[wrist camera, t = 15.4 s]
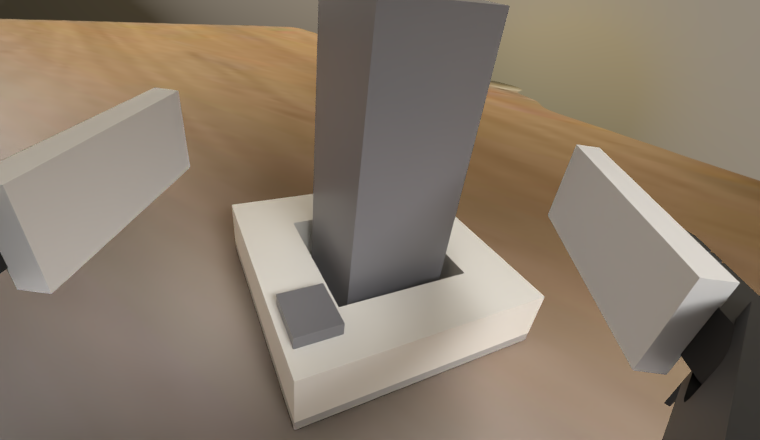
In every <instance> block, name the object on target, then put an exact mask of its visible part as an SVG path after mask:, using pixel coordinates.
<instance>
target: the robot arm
mask: <svg viewBox="0 0 760 440" xmlns="http://www.w3.org/2000/svg"><path fill="white" fill-rule="evenodd" d="M189 168H190V163H189V156H188V150H187V143H186V137H185V131H184V124H183V118H182V111H181V105H180V99H179V92H178V91H177V90H169V89H162V88H153V89H151V90H149V91H147V92H144V93H142V94H140V95H138V96H136V97H134V98H132V99H130V100H128V101H126V102H123V103H121V104H119V105H117V106H115V107H113V108H111V109H109V110H107V111H104V112H102V113H100V114H98V115H96V116H94V117H92V118H90V119H88V120H86V121H83V122H81V123H79V124H77V125H75V126H73V127H71V128H69V129H67V130H64V131H62V132H60V133H58V134H56V135H54V136H52V137H50V138H48V139H46V140H43V141H41V142H39V143H37V144H35V145H33V146H31V147H29V148H27V149H25V150H22V151H20V152H18V153H16V154H14V155H12V156H10V157H8V158H6V159H3V160H1V161H0V273H1V272H3V271H4V270H5V269H7V270H8V272H9V274H10V276H11V278H12V280H13V282H14V284H15V286H16V288H17V290H24V291H32V292H40V293H47V294H52V293H53V292H54V291H56V290H57V289H58V288H59V287H60V286H61V285H62V284H63V283H64V282H65V281H66V280H68V279H69V278H70V277H71V276H72V275H73V274H74V273H75V272H76V271H77V270H79V269H80V268H81V267H82V266H83V265H84V264H85V263H86V262H87V261H88V260H89V259H91V258H92V257H93V256H94V255H95V254H96V253H97V252H98V251H99V250H100V249H101V248H103V247H104V246H105V245H106V244H107V243H108V242H109V241H110V240H111V239H112V238H114V237H115V236H116V235H117V234H118V233H119V232H120V231H121V230H122V229H123V228H124V227H126V226H127V225H128V224H129V223H130V222H131V221H132V220H133V219H134V218H135V217H137V216H138V215H139V214H140V213H141V212H142V211H143V210H144V209H145V208H146V207H147V206H149V205H150V204H151V203H152V202H153V201H154V200H155V199H156V198H157V197H158V196H160V195H161V194H162V193H163V192H164V191H165V190H166V189H167V188H168V187H169V186H170V185H172V184H173V183H174V182H175V181H176V180H177V179H178V178H179V177H180V176H181V175H182V174H184V173H185V172H186V171H187V170H188V169H189ZM548 217H549V218H550V220H551V222H552V224H553V226H554V228H555V229H556V231H557V233H558V235H559V237H560V238H561V240H562V242H563V244H564V246H565V248H566V249H567V251H568V253H569V255H570V257H571V258H572V260H573V262H574V264H575V266H576V268H577V269H578V271H579V273H580V275H581V277H582V278H583V280H584V282H585V284H586V286H587V288H588V289H589V291H590V293H591V295H592V297H593V299H594V300H595V302H596V304H597V306H598V308H599V309H600V311H601V313H602V315H603V317H604V319H605V320H606V322H607V324H608V326H609V328H610V329H611V331H612V333H613V335H614V337H615V339H616V340H617V342H618V344H619V346H620V348H621V349H622V351H623V353H624V355H625V357H626V359H627V360H628V362H629V364H630V366H631V368H632V369H633V370H635V371H643V372H650V373H658V374H667V373H668V372H669V371H670V370H671V368H672V367H673V366H674V365H675V363H676V362H677V361H678V360H679V358H680V357H681V356H682V358H683V359H684V361H685V362H686V363H687V365H688V366H689V368H690V369H691V372H690V373H689V375H688V376H687V377H686V378H685V379H684V380H683V382H682V383H681V384H680V385H679V386H678V387H677V389H676V390H675V391H674V392H673V393H672V394H671V396H670V397H669V398H668V399H667V400H666V402H665V404H667V405H668V406H671V405H672V404H673V403H674V402H675V404H674V407H673V410H672V413H671V416H670V419H669V422H668V425H667V427H666V430H665V433H664V436H663V439H662V440H760V296H759V295H757V294H756V293H755V292H754V291H753V290H752V289H751V288H750V287H749V286H748V285H747V284H746V283H745V282H744V281H743V280H742V279H741V278H740V277H738V276H737V275H736V274H735V273H734V272H733V271H732V270H731V269H730V268H729V267H728V266H727V265H726V264H724V263H722V260H721V259H719V258H718V257H717V256H716V255H715V254H714V253H711V252H710V251H711V250H710V249H709V248H708V247H707V246H706V245H705V244H704V243H703V242H702V241H700V240H699V239H698V238H697V237H696V236H694V235H693V234H691V233H689V232H688V231H686V230H685V229H683V228H682V227H681V226H680V225H679V224H678V223H677V222H676V221H675V220H674V219H673V218H672V217H671V216H670V215H669V214H668V213H667V212H666V211H665V210H664V209H663V208H662V207H661V206H660V205H659V204H657V203H656V202H655V201H654V200H653V199H652V198H651V197H650V196H649V195H648V194H647V193H646V192H645V191H644V190H643V189H642V188H641V187H640V186H639V185H638V184H637V183H636V182H635V181H634V180H633V179H632V178H630V177H629V176H628V175H627V174H626V173H625V172H624V171H623V170H622V169H621V168H620V167H619V166H618V165H617V164H616V163H615V162H614V161H613V160H612V159H611V158H610V157H609V156H608V155H607V154H606V153H604V152H603V151H602V150H601V149H600V148H598V147H590V146H583V145H576V147H575V150H574V152H573V154H572V157H571V159H570V162H569V164H568V167H567V169H566V172H565V174H564V177H563V179H562V181H561V184H560V186H559V189H558V191H557V194H556V196H555V199H554V201H553V204H552V206H551V208H550V211H549V213H548Z"/></svg>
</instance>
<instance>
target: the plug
mask: <svg viewBox="0 0 760 440" xmlns="http://www.w3.org/2000/svg"><path fill="white" fill-rule="evenodd" d="M318 6H319V7H318V42H317V78H316V114H315V150H314V186H313V223H312V259H313V260H314V262H315V264H316V266H317V268H318V270H319V272H320V273H321V275H322V277H323V279H324V281H325V283H326V284H327V286H328V288H329V290H330V292H331V294H332V296H333V297H334V299H335V301H336V303H337V305H338V307H342V306H345V305H349V304H353V303H356V302H360V301H364V300H367V299H371V298H375V297H378V296H382V295H386V294H390V293H393V292H397V291H401V290H404V289H408V288H412V287H415V286H419V285H423V284H426V283H430V282H434V281H437V280H439V278H440V274H441V270H442V266H443V262H444V258H445V255H446V251H447V247H448V243H449V239H450V235H451V231H452V227H453V223H454V220H455V216H456V212H457V208H458V204H459V200H460V196H461V192H462V189H463V185H464V181H465V177H466V173H467V169H468V165H469V161H470V158H471V154H472V150H473V146H474V142H475V138H476V134H477V130H478V127H479V123H480V119H481V115H482V111H483V107H484V103H485V99H486V96H487V92H488V88H489V84H490V80H491V76H492V72H493V68H494V64H495V61H496V57H497V52H498V48H499V45H500V41H501V37H502V33H503V30H504V26H505V22H506V18H507V14H508V10H509V6H508V5H503V4H498V3H493V2H489V1H484V0H319V5H318Z"/></svg>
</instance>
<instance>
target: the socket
mask: <svg viewBox="0 0 760 440" xmlns="http://www.w3.org/2000/svg"><path fill="white" fill-rule="evenodd" d="M232 213H233V223H234V233H235V243H236V249H237V252H238V256H239V259H240V262H241V265H242V268H243V271H244V274H245V277H246V281H247V284H248V287H249V290H250V293H251V296H252V299H253V303H254V306H255V309H256V312H257V315H258V318H259V321H260V324H261V328H262V331H263V334H264V337H265V340H266V343H267V346H268V349H269V353H270V356H271V359H272V362H273V365H274V368H275V371H276V375H277V378H278V381H279V384H280V387H281V390H282V393H283V396H284V400H285V403H286V406H287V409H288V412H289V415H290V418H291V421H292V425H293V428H294V430H296V429H299V428H302V427H304V426H307V425H309V424H312V423H314V422H317V421H319V420H322V419H324V418H327V417H329V416H332V415H335V414H337V413H340V412H342V411H345V410H347V409H350V408H352V407H355V406H357V405H360V404H363V403H365V402H368V401H370V400H373V399H375V398H378V397H380V396H383V395H385V394H388V393H390V392H393V391H396V390H398V389H401V388H403V387H406V386H408V385H411V384H413V383H416V382H418V381H421V380H424V379H426V378H429V377H431V376H434V375H436V374H439V373H441V372H444V371H446V370H449V369H451V368H454V367H457V366H459V365H462V364H464V363H467V362H469V361H472V360H474V359H477V358H479V357H482V356H485V355H487V354H490V353H492V352H495V351H497V350H500V349H502V348H505V347H507V346H510V345H512V344H515V343H518V342H520V341H523V340H525V338H526V336H527V334H528V332H529V330H530V327H531V325H532V323H533V321H534V319H535V317H536V314H537V312H538V310H539V308H540V306H541V304H542V301H543V299H544V296H543V295H542V294H541V293H540V292H539V291H538V290H537V289H536V288H534V287H533V286H532V285H531V284H530V283H529V282H528V281H527V280H526V279H524V278H523V277H522V276H521V275H520V274H519V273H518V272H517V271H516V270H514V269H513V268H512V267H511V266H510V265H509V264H508V263H507V262H505V261H504V260H503V259H502V258H501V257H500V256H499V255H498V254H497V253H495V252H494V251H493V250H492V249H491V248H490V247H489V246H488V245H487V244H485V243H484V242H483V241H482V240H481V239H480V238H479V237H478V236H477V235H475V234H474V233H473V232H472V231H471V230H470V229H469V228H468V227H467V226H465V225H464V224H463V223H462V222H461V221H460V220H459V219H458V218H456V217H455V220H454V223H453V227H452V231H451V235H450V239H449V243H448V247H447V251H446V255H445V258H444V262H443V266H442V270H441V274H440V278H439V280H437V281H434V282H430V283H426V284H423V285H419V286H415V287H412V288H408V289H404V290H401V291H397V292H393V293H390V294H386V295H382V296H378V297H375V298H371V299H367V300H364V301H360V302H356V303H353V304H349V305H345V306H342V307H338V305H337V303H336V301H335V299H334V297H333V296H332V294H331V292H330V290H329V288H328V286H327V284H326V283H325V281H324V279H323V277H322V275H321V273H320V272H319V270H318V268H317V266H316V264H315V262H314V260H313V259H312V223H313V194H308V195H301V196H293V197H286V198H278V199H271V200H264V201H256V202H249V203H241V204H234V205H232Z"/></svg>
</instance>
